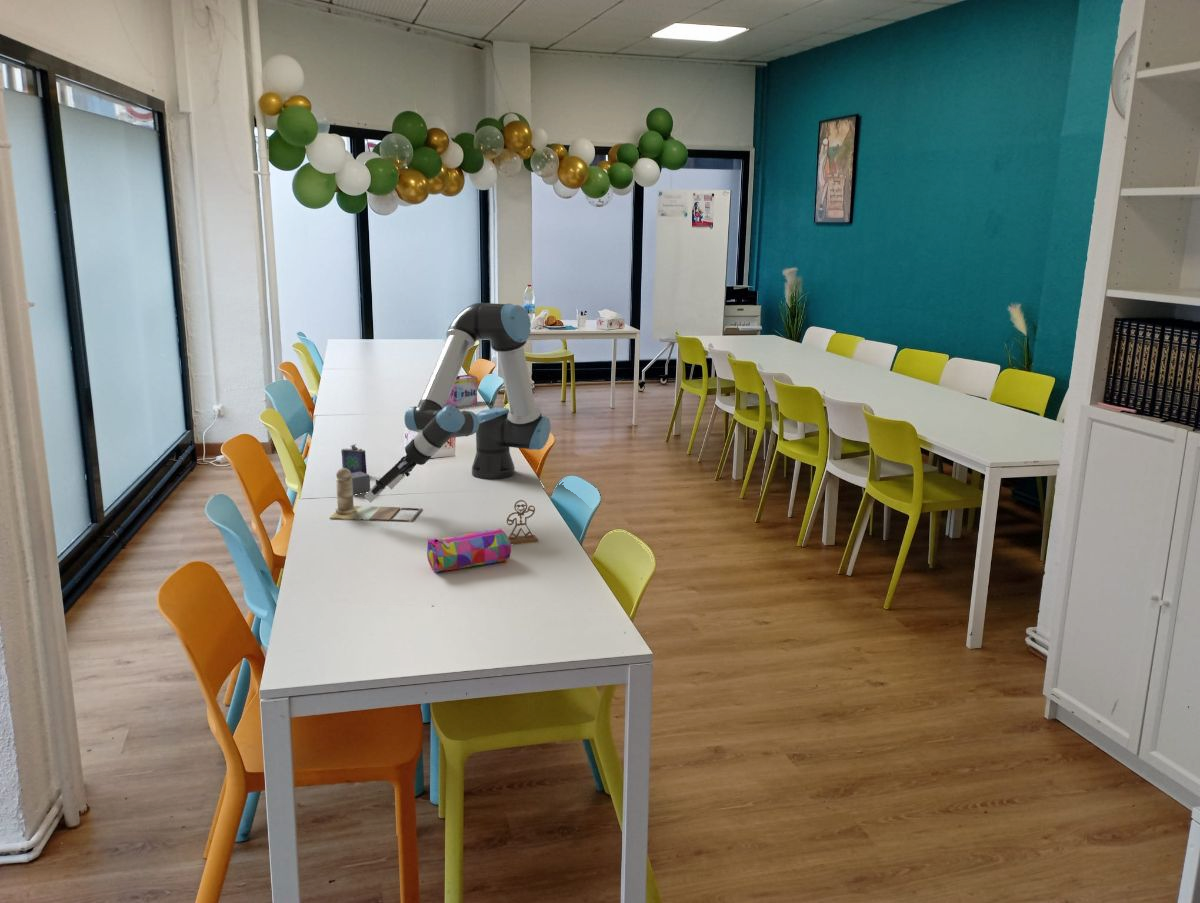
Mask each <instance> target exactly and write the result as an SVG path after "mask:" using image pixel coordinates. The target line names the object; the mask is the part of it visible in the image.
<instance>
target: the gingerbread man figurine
mask: <svg viewBox="0 0 1200 903" xmlns="http://www.w3.org/2000/svg"><path fill="white" fill-rule="evenodd" d="M520 502H523V503H524V504H523V503H522V504H518V503H520ZM520 507H522V509H519V508H520ZM513 508H514V510H515V512H512V513H510V514H509V515H508V516H507V517H506V524H507V525H508V526H512V525H514V523H515V526H514V527H513V529H512V531H511V532H510V535H509V536H507V538H508V539H509V540H510V543H511V546H512V544H513V545H523V544H530V543H532V542H533V543H538V542H539V541H538V540H539V539H538V537H537V536H536V535H535V534H533V533H532V531H531V530H530V528H529V527H528V525H527V519H530V518H531V517H533V515H534V514H535V512H536V508H535V506H534V505H529V506H528V503H527V502H526V501H525V500H524V499H523V500H522V499H519V500H517V501H516V502H514V506H513ZM529 512H531V514H530V515H529V516H525V514H527V513H529ZM515 514H517V516H518V517H519V523H517V522H518V519H517V517H514V518H512V519H511V517H512V516H514V515H515ZM523 516H524V522H523V521H522V519H523ZM509 522H510V523H509ZM519 526H525V527H526V528H527V529H528V531H527V532H526V533H525V532H524V530H523V529H522V527H520V528H519V530H518V532H517V533H516V534H515V533H514V532H515V530H516V529H517V527H519ZM521 532H522V533H523V535H519V534H520V533H521ZM522 543H523V544H522Z"/></svg>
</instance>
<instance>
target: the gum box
mask: <svg viewBox="0 0 1200 903" xmlns="http://www.w3.org/2000/svg"><path fill="white" fill-rule="evenodd" d="M477 378H478V376H476V375H472V374H471V375H470V374H464V375H458V376H457V378H456V381H455V383H454V385H453V388H452V390H451V392H450V395H449V397H448V399H447V402H446V404H445V406H447V405H452V406H453V407H456V408H457V407H458V408H459V407H466V406H473V405H478V379H477ZM429 380H430V378H429V379H428V381H429ZM445 406H444V407H445Z"/></svg>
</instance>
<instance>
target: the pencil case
mask: <svg viewBox="0 0 1200 903" xmlns="http://www.w3.org/2000/svg"><path fill="white" fill-rule="evenodd" d="M507 537H508V535H507V533H506V532H505V531H504V530H503V529H502V528H501V527H498V528H496V529H495V528H494V529H488V530H484V531H483V530H482V531H473V532H472V531H471V532H467V533H462V534H459V535H456V536H451V537H445V538H436V537H435V538H434V537H433V538H426V541H427V548H426V551H427V552H426V555H427V556H426V557H427V562H428V563H429V565H430V568H431V569H432V571H433V572H434V573H438V572H441V571H442V572H443V571H453V570H460V569H463V568H469V567H476V566H483V565H489V564H490V565H491V564H493V563H501V562H504V561H507V560H509V559H510V557H511V555H512V554H511V553H512V545H511V543H510V540H509V539H508V538H507Z"/></svg>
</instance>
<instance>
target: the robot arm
mask: <svg viewBox="0 0 1200 903" xmlns="http://www.w3.org/2000/svg"><path fill="white" fill-rule="evenodd" d="M531 323H532V322H531V318H530V316H529V313H528V312H527V310H526V309H525V307H523V306H522V305H519V304H513V303H494V302H493V303H492V302H491V303H490V302H475V303H473V304H471V305H468V306H467V307H465V308H464V309H462V311H460V312H459V313H458V314H457V315H456V317H454V319H453V320H452V321H451V323H450V325H449V326H448V328H447V331H446V332H445V333H446V334H445V336H446V342H444V345H443V348H442V350H441V353H440V355H439V356H438V360H437V362H436V364H435V366H434V369H433V371H432V373H431V375H430V378H429V379H430V380H429V379H428V383H427V384H426V386H425V389H424V391H423V394H422V396H421V398H420V400H419V402H418V405H417V406H410V407H409V408H407V410H406V411H405V413H404V425H405V427H406V428H407V429H408V430H409V431H411V432H416V433H418V434H417V435H416V436H415V437H414V438H413V439H411V440H410V441H409V442H408V443H407V444H406V446H405V448H404V450H405V451H404V452H405V453H406V455H404V456H403V457H402V458H400V460H398V462H397V463H396V464H394V466H392V468H390V469H389V470H388V471H387V472H386V473H385V474H384V475H382V476H381V478H379V480H378V479H375V484H374V485H373V486H372V488H371V487H370V491H369V492H368V493H366V494H364V498H366V500H368V502H369V503H372V502H373V501H374V500H375V499H376V498H377V497H378V496H379V495H380V494H381V493H382V492H383V491H384V490H385V489H386V488H387V487H388V488H389V490H393V489H394V488H395V486H397V485H398V484H399V483H400V482H401V481H402V480H403V479H404V478H405V477H409V476H410V475H411V473H410V472H412V471H413V469H414V468H415V467H416V465H420V466H424V465H425V464H426V463H427V462H428V461H430V460H431V458H432V457H433V456H434V455H435V454H436V453H437V452H438V451H439V450H441V449H442V447H443V446H444V445H445V444H446V443H447V442H448V441H449V440H450V439H453V438H454V439H455V438H461V437H469V436H472V435H474V434H475V444H476V447H475V448H476V453H475V456H474V459H473V462H472V466H471V475H472V476H473V475H474V476H473V477H475V476H476V478H480V479H486V480H487V479H488V480H490V479H491V480H492V479H493V480H498V479H505V477H506V478H509V476H510V477H512V476H514V475H515V474H514V473H516V472H515V468H516V467H515V464H514V461H513V458H512V454H511V452H510V448H515V449H524V450H529V451H532V450H537V451H539V450H542V449H543V448H545V446H546V444H547V442H548V440H549V438H550V433H551V420H550V418H549V417H547V416H543V415H542V411H541V409H540V407H539V406H538V405H536V402H535V397H534V392H533V387H532V383H531V379H530V373H529V369H528V363H527V359H526V355H525V349H524V346H525V345H526V344H527V341H528V339H529V338H530V335H531V332H532V331H531V328H532V324H531ZM479 340H487V341H489V342H490V346H491V349H492V350H493V351H495V352H497V356H498V360H499V365H500V370H501V374H502V378H503V383H504V388H505V392H506V397H507V401H508V404H509V405H508V406H509V408H507V407H494V408H487V409H484V410H480V411H478V412H477V413H475V412H473V411H471V410H462V411H461V410H460V409H459V408H457V407H453V406H452V405H447V406H445V404H446V402H447V399H448V397H449V395H450V392H451V390H452V388H453V385H454V383H455V381H456V378H457V376H459V374H460V371H461V369H462V366H463V364H464V362H465V359H466V357H467V355H468V352H469V350H470V349H472V348H474V347H475V344H476V342H477V341H479ZM444 406H445V407H444ZM513 474H514V475H513Z"/></svg>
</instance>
